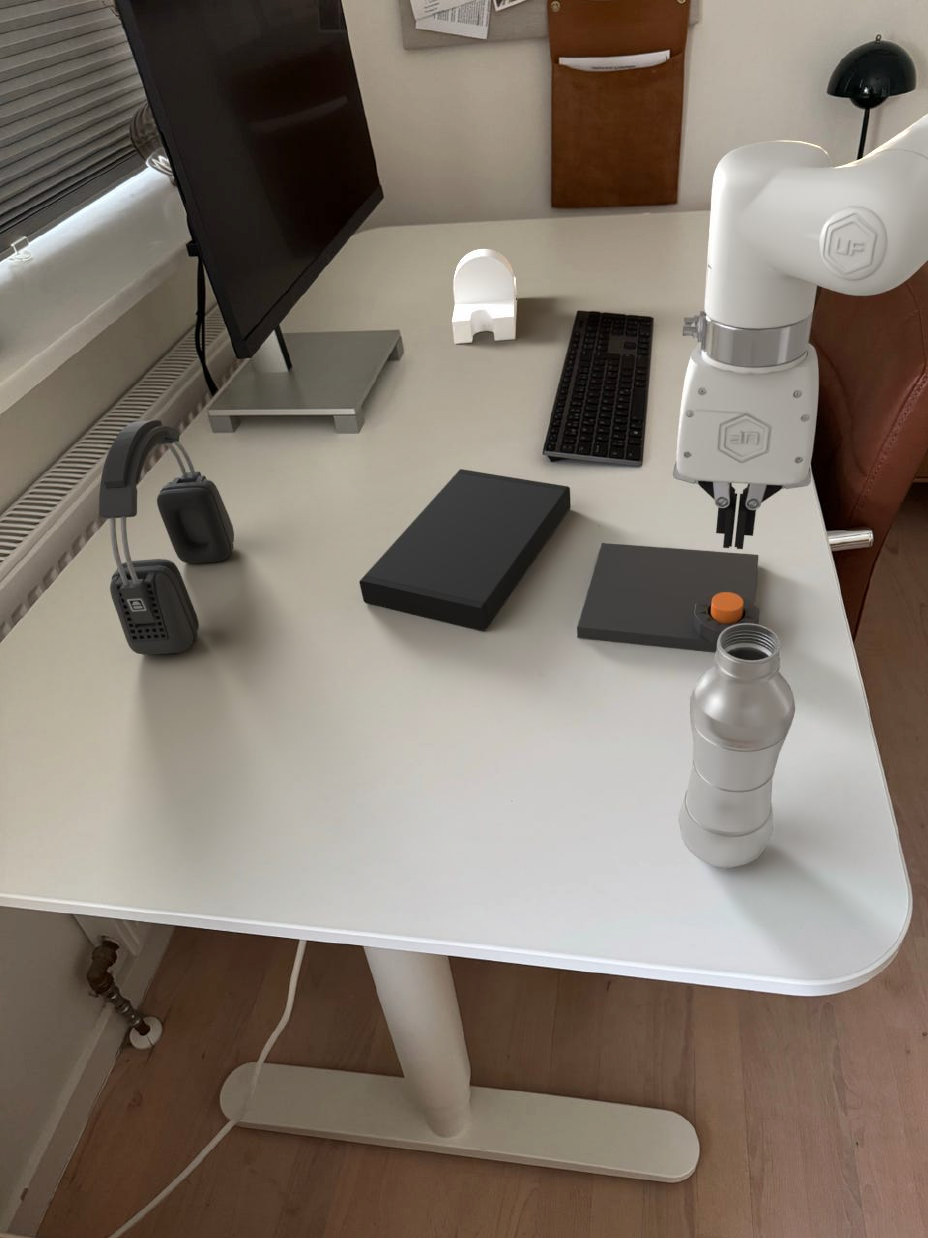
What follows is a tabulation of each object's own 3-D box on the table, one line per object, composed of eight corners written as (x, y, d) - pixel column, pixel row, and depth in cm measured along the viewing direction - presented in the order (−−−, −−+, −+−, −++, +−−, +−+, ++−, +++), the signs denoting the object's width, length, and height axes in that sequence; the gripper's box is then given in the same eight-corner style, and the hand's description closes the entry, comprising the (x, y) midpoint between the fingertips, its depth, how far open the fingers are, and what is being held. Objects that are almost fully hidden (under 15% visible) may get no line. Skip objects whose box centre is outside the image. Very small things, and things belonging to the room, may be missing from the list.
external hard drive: (363, 602, 94) (358, 580, 92) (461, 489, 109) (459, 468, 107) (485, 632, 88) (482, 608, 86) (570, 508, 103) (570, 486, 101)
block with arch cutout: (515, 339, 142) (510, 269, 135) (454, 343, 143) (446, 274, 136) (517, 297, 156) (512, 231, 149) (461, 302, 157) (454, 237, 150)
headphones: (190, 663, 89) (120, 492, 77) (130, 666, 90) (50, 498, 77) (241, 536, 106) (190, 379, 94) (190, 540, 107) (133, 384, 94)
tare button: (742, 606, 83) (744, 593, 82) (741, 625, 81) (742, 612, 80) (711, 603, 84) (713, 590, 83) (709, 622, 82) (710, 609, 81)
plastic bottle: (661, 823, 68) (672, 625, 56) (740, 797, 70) (769, 597, 57) (703, 892, 64) (725, 692, 51) (787, 862, 65) (830, 659, 52)
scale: (760, 565, 91) (763, 541, 89) (754, 659, 81) (757, 634, 79) (601, 553, 96) (601, 530, 94) (576, 640, 86) (575, 616, 84)
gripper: (644, 353, 65) (640, 558, 76) (868, 357, 60) (827, 573, 72) (657, 313, 70) (651, 509, 82) (863, 314, 66) (826, 521, 77)
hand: (733, 539), depth 77 cm, fingers closed
